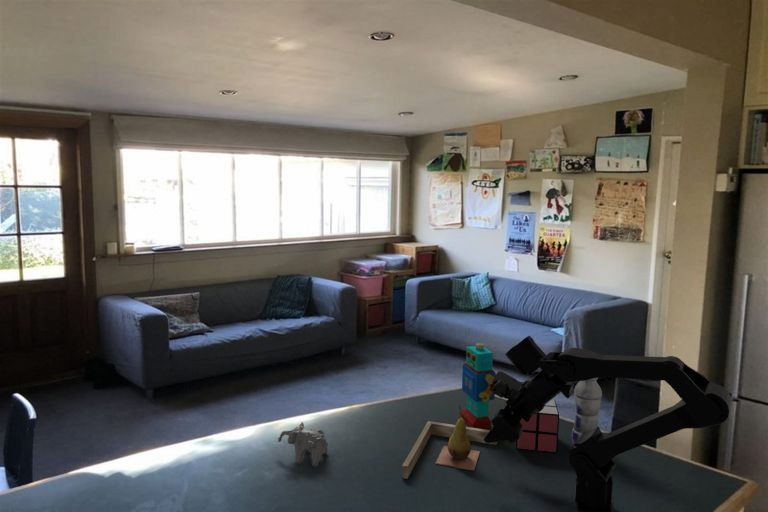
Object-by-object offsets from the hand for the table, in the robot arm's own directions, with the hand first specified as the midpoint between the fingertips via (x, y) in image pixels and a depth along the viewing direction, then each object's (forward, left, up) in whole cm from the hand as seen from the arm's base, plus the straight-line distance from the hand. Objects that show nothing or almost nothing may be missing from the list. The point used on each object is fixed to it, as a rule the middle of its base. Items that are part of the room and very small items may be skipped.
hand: (491, 430), depth 124 cm
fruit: (+8, -3, -10) cm, 13 cm away
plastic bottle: (-21, -20, -10) cm, 30 cm away
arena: (+9, -3, -10) cm, 14 cm away
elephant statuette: (+43, +9, -10) cm, 45 cm away
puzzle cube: (-9, -19, -10) cm, 23 cm away
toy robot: (+7, -25, -10) cm, 27 cm away
